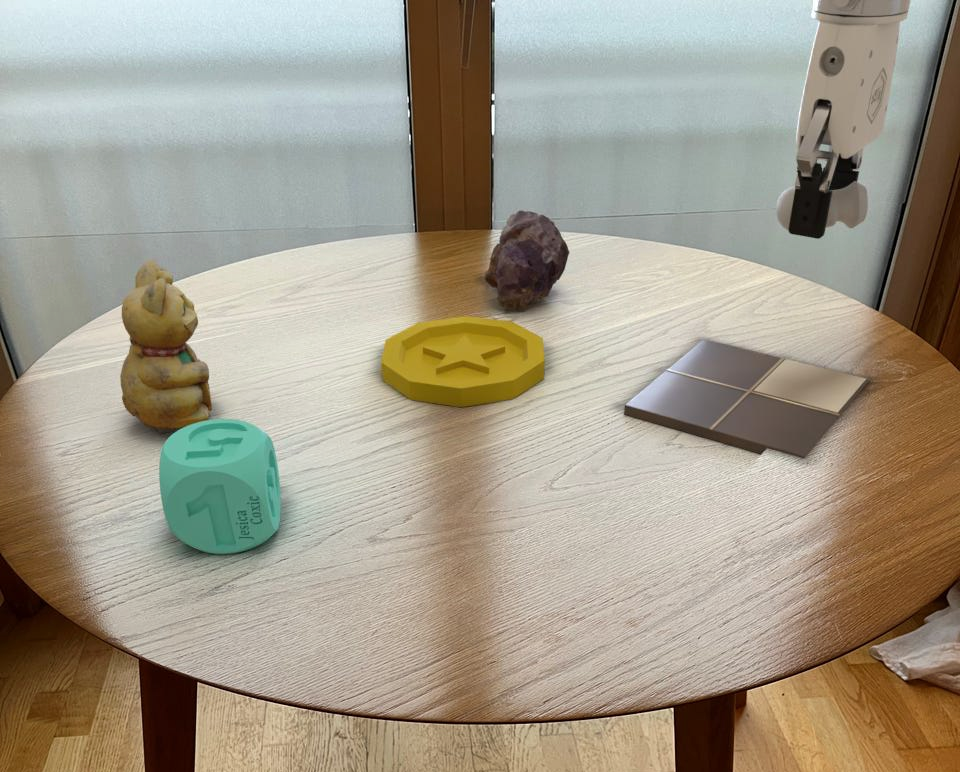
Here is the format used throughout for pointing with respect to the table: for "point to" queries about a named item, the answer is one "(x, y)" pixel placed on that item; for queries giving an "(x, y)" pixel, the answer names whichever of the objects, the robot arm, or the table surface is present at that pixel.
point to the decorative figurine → (162, 355)
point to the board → (747, 399)
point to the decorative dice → (220, 486)
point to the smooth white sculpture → (831, 206)
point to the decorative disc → (463, 361)
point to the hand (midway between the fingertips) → (819, 222)
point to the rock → (526, 260)
